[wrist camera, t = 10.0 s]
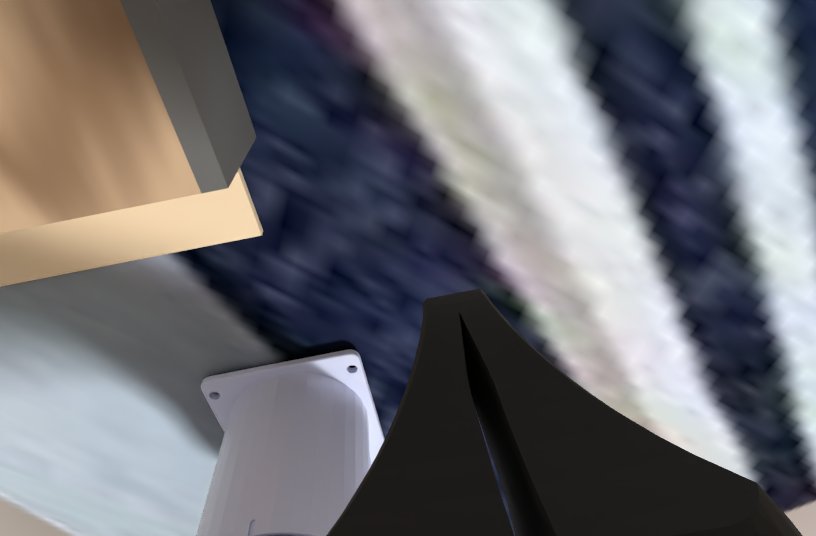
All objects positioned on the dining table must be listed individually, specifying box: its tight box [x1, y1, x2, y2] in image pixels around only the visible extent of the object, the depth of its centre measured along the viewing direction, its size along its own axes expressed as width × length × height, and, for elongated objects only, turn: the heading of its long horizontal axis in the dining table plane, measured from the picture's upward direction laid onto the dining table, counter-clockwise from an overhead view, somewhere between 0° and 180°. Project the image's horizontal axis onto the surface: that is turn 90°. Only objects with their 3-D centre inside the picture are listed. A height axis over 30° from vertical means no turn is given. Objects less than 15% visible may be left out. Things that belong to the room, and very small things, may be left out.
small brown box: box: [0, 0, 256, 233], centre depth 15 cm, size 6×5×10 cm
